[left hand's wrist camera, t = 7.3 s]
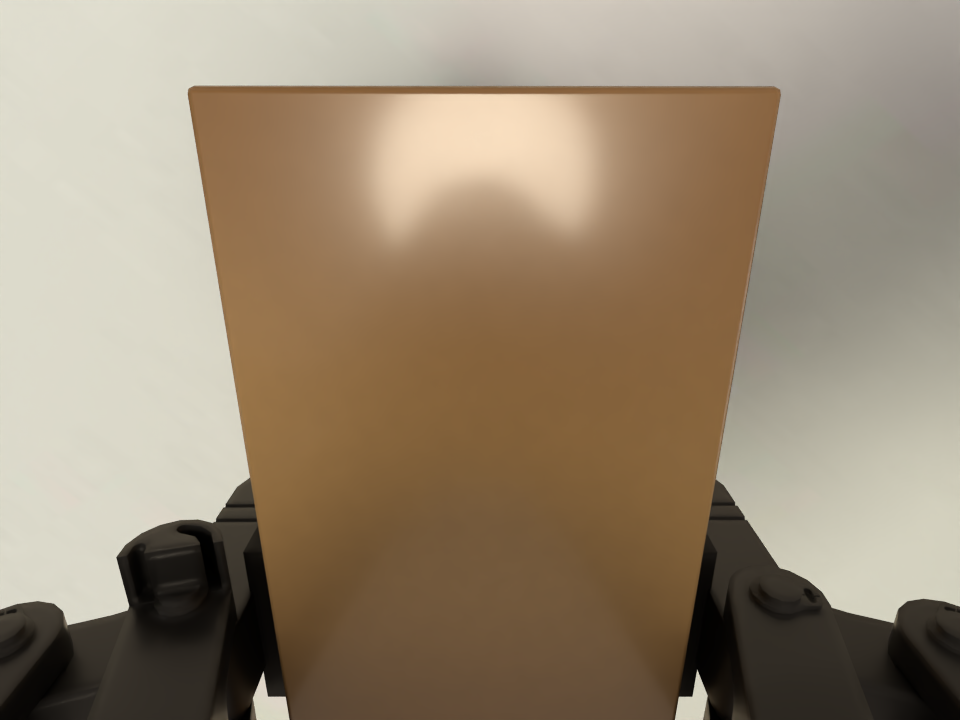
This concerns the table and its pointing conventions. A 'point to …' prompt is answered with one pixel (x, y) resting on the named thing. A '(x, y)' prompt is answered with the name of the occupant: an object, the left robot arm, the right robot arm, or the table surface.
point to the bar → (483, 380)
